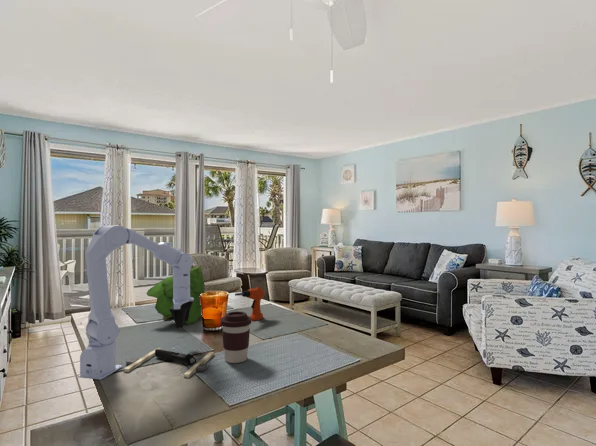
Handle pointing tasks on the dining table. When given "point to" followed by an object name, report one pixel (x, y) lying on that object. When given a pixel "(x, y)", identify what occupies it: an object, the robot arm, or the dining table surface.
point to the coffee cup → (236, 336)
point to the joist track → (136, 362)
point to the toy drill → (256, 296)
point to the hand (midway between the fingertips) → (182, 324)
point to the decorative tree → (165, 295)
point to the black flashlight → (175, 357)
